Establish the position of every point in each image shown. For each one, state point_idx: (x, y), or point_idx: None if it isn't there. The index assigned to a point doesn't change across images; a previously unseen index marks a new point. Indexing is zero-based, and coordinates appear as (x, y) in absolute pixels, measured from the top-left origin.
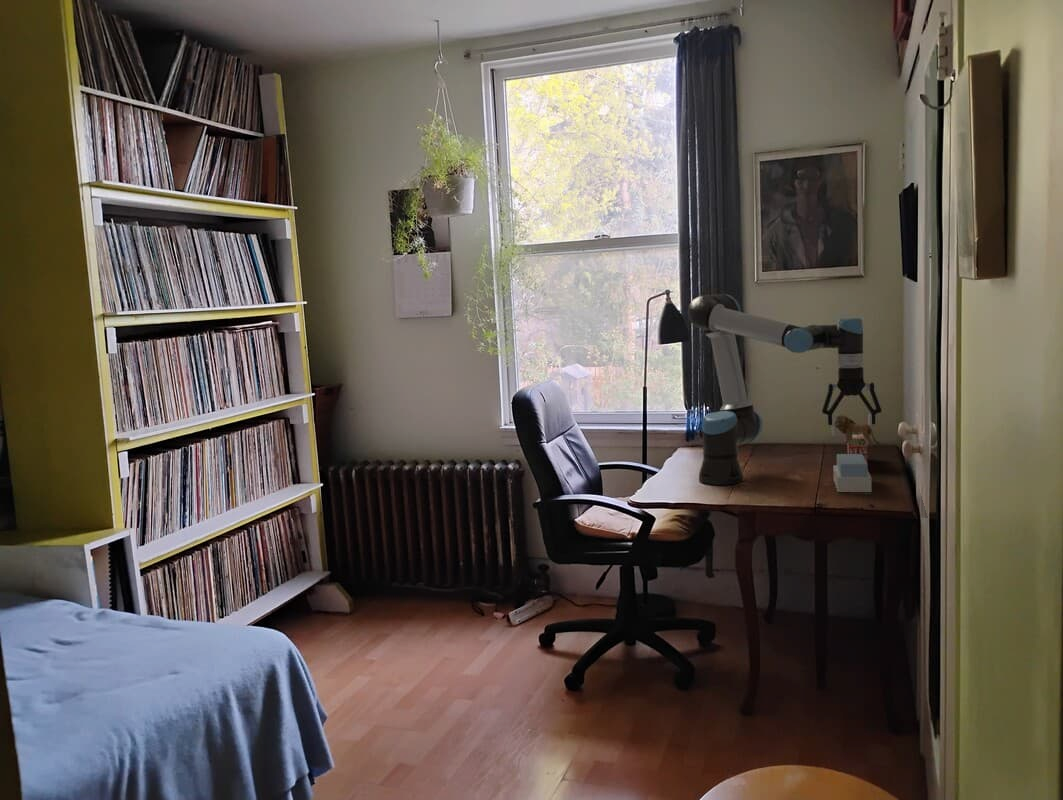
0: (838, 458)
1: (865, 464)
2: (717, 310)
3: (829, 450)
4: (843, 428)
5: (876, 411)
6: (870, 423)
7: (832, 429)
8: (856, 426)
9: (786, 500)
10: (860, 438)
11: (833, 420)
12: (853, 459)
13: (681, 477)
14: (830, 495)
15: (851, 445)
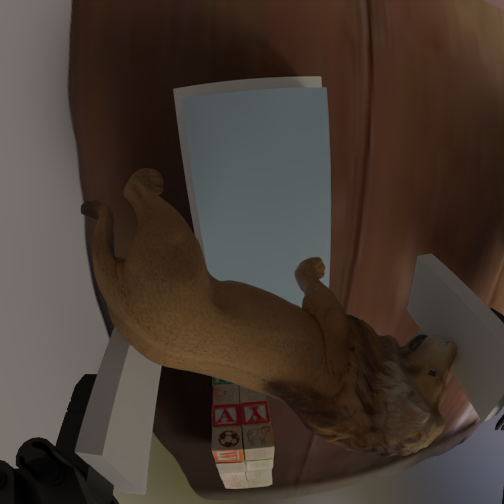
0: (329, 233)
1: (192, 97)
2: None
3: (291, 469)
4: (372, 333)
5: (33, 486)
6: (111, 370)
7: (458, 278)
8: (263, 331)
9: (438, 4)
10: (235, 449)
11: (500, 329)
12: (257, 216)
13: None
14: (327, 45)
15: (262, 427)
